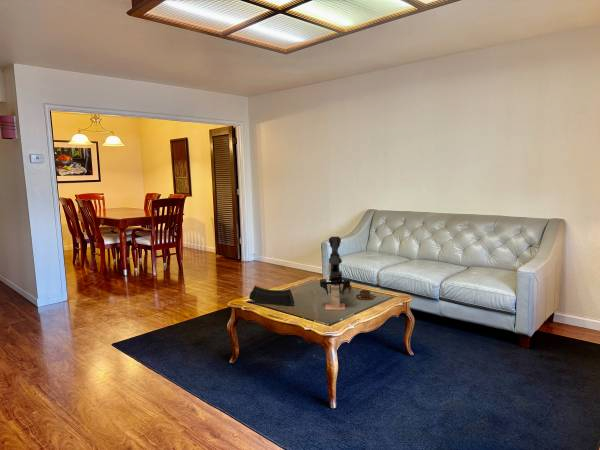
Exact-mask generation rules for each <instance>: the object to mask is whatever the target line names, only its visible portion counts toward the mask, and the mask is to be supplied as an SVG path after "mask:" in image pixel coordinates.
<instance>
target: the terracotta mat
mask: <svg viewBox="0 0 600 450" xmlns="http://www.w3.org/2000/svg"><path fill="white" fill-rule="evenodd" d="M325 310H326V311H346V304H345V303H339V308H331V302H330V303H325Z"/></svg>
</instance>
